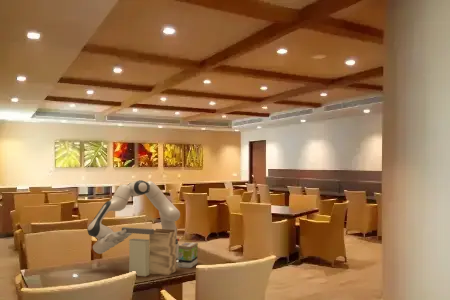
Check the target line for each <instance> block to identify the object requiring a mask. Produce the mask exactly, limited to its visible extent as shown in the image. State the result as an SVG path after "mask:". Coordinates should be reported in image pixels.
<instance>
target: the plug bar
mask: <svg viewBox="0 0 450 300" xmlns="http://www.w3.org/2000/svg"><path fill="white" fill-rule="evenodd" d="M124 229H127V232H125V233H132V234H139V235H149V234H150V235H151V234H154V230H155V229H154V228H145V227H144V228H143V227H142V228H140V227H138V228H137V227H128V226H127V227H125V226H124V227H121V231H122V230H124Z"/></svg>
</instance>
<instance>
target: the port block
mask: <svg viewBox="0 0 450 300" xmlns="http://www.w3.org/2000/svg"><path fill="white" fill-rule="evenodd" d="M128 243H129V244H128V245H129V247H128V248H129V250H128V251H129V261H128V263H129V267H128V268H129V269H128V270H129V271H128V272H132V271H136V273H137V276H139V277H147V276H149V275H150V273H149V239H144V238H130V239H129V241H128Z"/></svg>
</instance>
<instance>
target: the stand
mask: <svg viewBox="0 0 450 300" xmlns="http://www.w3.org/2000/svg"><path fill="white" fill-rule="evenodd" d="M148 235H149V236H148V237H149V239H148V240H149V274H154V275H165V276H170V275H171V274H173V273H175V272H177V270H176V269H177V259H176V232H175V230H170V229H162V228H155V229H154V234H151V235H150V234H148Z"/></svg>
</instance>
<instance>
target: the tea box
mask: <svg viewBox="0 0 450 300" xmlns="http://www.w3.org/2000/svg"><path fill="white" fill-rule="evenodd" d="M179 245H180V246H179V257H178V259H177V260H178V265H177V266H178V268H187V269H189V268H190V269H192V268H193V267H194V266H195V265H196V264H198V245H199V244H198V242H187V241H186V242H184V243H181V244H179Z"/></svg>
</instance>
